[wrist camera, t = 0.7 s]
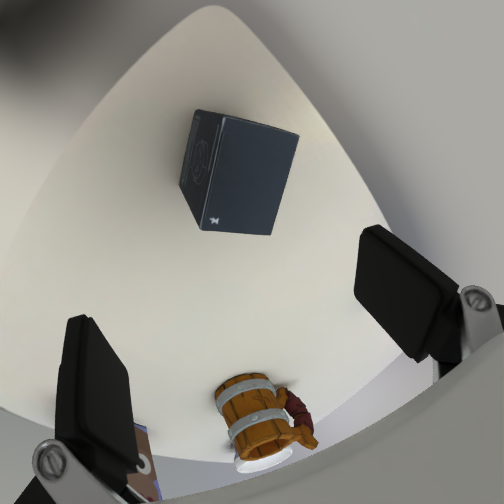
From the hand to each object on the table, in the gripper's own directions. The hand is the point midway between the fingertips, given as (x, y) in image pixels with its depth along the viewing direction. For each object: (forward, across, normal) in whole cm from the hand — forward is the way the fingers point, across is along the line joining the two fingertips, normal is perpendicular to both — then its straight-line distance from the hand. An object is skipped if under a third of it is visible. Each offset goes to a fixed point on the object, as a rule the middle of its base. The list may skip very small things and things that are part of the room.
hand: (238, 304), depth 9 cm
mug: (+21, -3, +42) cm, 48 cm away
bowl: (+21, 0, +67) cm, 71 cm away
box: (+22, -4, 0) cm, 22 cm away
